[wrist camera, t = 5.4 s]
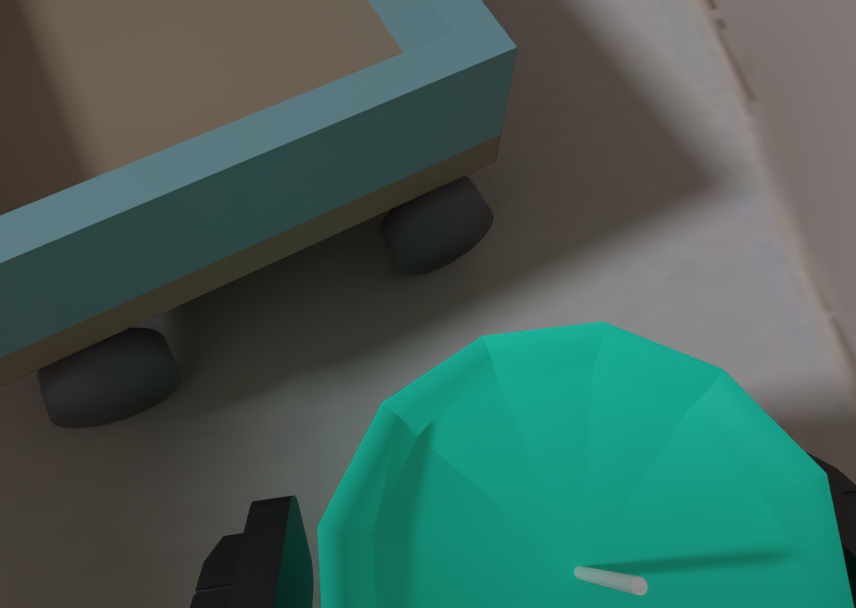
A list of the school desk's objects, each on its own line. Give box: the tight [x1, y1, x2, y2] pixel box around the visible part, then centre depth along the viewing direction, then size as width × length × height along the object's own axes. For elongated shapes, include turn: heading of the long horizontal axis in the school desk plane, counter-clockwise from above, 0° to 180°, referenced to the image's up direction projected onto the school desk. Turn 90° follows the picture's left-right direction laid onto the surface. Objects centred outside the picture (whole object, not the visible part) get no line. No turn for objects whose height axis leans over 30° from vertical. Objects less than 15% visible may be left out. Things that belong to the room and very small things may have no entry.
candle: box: [317, 322, 854, 608], centre depth 11 cm, size 6×6×12 cm
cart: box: [0, 0, 517, 428], centre depth 17 cm, size 14×16×7 cm
